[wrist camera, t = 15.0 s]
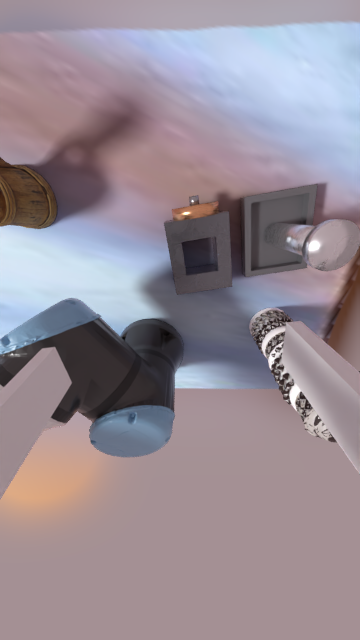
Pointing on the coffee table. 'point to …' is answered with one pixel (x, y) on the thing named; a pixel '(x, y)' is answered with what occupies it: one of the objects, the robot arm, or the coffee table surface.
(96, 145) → the coffee table surface
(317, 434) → the decorative candle
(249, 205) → the tray
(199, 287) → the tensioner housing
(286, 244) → the lock pin
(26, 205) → the wooden mug
